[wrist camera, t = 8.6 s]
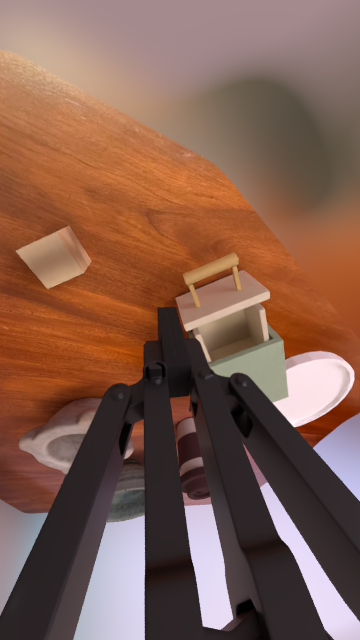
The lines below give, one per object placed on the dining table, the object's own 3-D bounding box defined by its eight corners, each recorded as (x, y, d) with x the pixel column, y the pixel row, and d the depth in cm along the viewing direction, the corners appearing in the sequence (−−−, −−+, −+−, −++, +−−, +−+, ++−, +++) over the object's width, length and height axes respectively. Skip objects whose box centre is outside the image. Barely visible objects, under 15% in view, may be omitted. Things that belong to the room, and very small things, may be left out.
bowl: (77, 461, 57) (66, 508, 48) (150, 441, 57) (152, 484, 48) (108, 487, 68) (104, 528, 60) (169, 470, 68) (172, 509, 60)
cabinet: (187, 332, 38) (199, 371, 30) (252, 306, 37) (283, 340, 29) (208, 379, 46) (222, 420, 38) (262, 359, 45) (288, 396, 37)
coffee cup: (205, 409, 52) (224, 478, 40) (210, 428, 58) (228, 494, 45) (168, 419, 52) (175, 492, 40) (176, 438, 58) (185, 506, 45)
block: (34, 240, 26) (14, 250, 22) (69, 225, 26) (55, 232, 22) (60, 275, 29) (47, 289, 25) (92, 261, 29) (83, 273, 25)
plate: (221, 406, 53) (225, 415, 51) (312, 332, 43) (321, 339, 41) (281, 430, 65) (286, 438, 63) (363, 376, 55) (371, 384, 53)
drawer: (162, 268, 30) (167, 291, 23) (237, 237, 29) (264, 251, 23) (200, 354, 40) (211, 386, 34) (255, 332, 39) (278, 361, 33)
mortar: (29, 400, 41) (4, 448, 34) (107, 374, 41) (98, 417, 33) (77, 437, 51) (66, 481, 43) (141, 417, 50) (140, 458, 42)
